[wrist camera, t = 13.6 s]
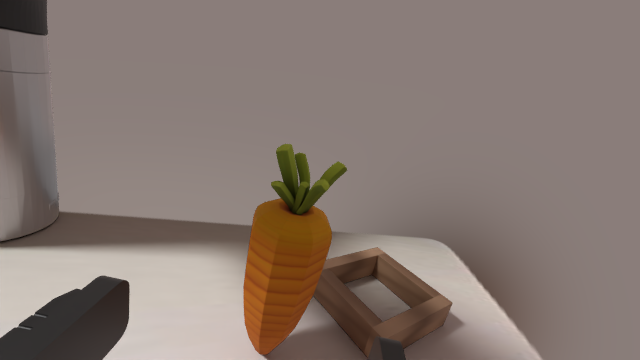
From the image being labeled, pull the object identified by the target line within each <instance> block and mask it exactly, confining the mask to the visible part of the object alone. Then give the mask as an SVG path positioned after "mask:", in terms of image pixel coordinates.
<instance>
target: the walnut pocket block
mask: <svg viewBox="0 0 640 360" xmlns="http://www.w3.org/2000/svg"><path fill="white" fill-rule="evenodd" d="M369 275H373V276H374V277H376V278H377V279H378V280H379V281H380V282H382V283H383V284H384V285H385V286H386V287H387V288H389V289H390V290H391V291H392V292H393V293H395V294H396V295H397V296H398V297H399V298H400V299H402V300H403V301H404V302H405V303H406V304H407V305H409V306H410V307H411V309H409V310H407V311H405V312H403V313H401V314H399V315H397V316H395V317H393V318H391V319H389V320H386V321H384V322H382V321H381V320H380V319H379V318H378V317H377V316H376V315H375V314H374V313H373V312H372V311H371V310H370V309H369V308H368V307H367V306H366V305H365V304H364V303H363V302H362V301H361V300H360V299H359V298H358V297H357V296H356V295H355V294H354V293H353V292H352V291H351V290H349V289H348V288H347V287H346V286H345V285H344V283H347V282H350V281H353V280H356V279H359V278H362V277H365V276H369ZM313 295H314V296H315V297H316V299H317V300H318V301H319V302H320V303H321V304H322V306H323V307H324V308H325V309H326V310H327V311H328V312H329V314H330V315H331V316H332V317H333V318H334V319H335V321H336V322H337V323H338V324H339V325H340V326H341V327H342V329H343V330H344V331H345V332H346V333H347V334H348V336H349V337H350V338H351V339H352V340H353V341H354V342H355V344H356V345H357V346H358V347H359V348H360V349H361V351H362V352H363V353H364V354H365V355H366V356H367V357H368V356H369V353H370V350H371V347H372V344H373V341H374V339H375V337H376V336H379V337H383V338H388V339H392V340H397V341H400V342H401V344H402V346H403V349H404V348H405V347H407V346H409V345H410V344H412V343H414V342H415V341H417V340H419V339H420V338H422V337H424V336H425V335H427V334H429V333H430V332H432V331H433V330H435V329H437V328H438V327H440V326H442V325H443V324H444V322H445V319H446V317H447V315H448V312H449V310H450V308H451V305H452V302H451V301H449V300H448V299H447V298H445V297H444V296H443V295H441V294H440V293H439V292H437V291H436V290H435V289H433V288H432V287H430V286H429V285H428V284H426V283H425V282H424V281H422V280H421V279H420V278H418V277H417V276H416V275H414V274H413V273H412V272H410V271H409V270H407V269H406V268H405V267H403V266H402V265H401V264H399V263H398V262H397V261H395V260H394V259H393V258H391V257H390V256H389V255H387V254H386V253H384V252H383V251H382V250H380V249H379V248H378V247H377V248H373V249H369V250H364V251H360V252H356V253H352V254H348V255H344V256H340V257H336V258H331V259H327V260H325V263H324V266H323V269H322V272H321V275H320V278H319V280H318V283H317V286H316V289H315V292H314V294H313Z"/></svg>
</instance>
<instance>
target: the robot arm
mask: <svg viewBox="0 0 640 360" xmlns="http://www.w3.org/2000/svg"><path fill="white" fill-rule="evenodd" d="M47 34H48V30H47V0H0V241H5V240H9V239H13V238H18V237H22V236H25V235H28V234H31V233H34V232H36V231H38V230H41V229H43V228H45V227H47V226H48V225H50V224H51V223H53V222H54V221H55V220H56V219H57V217H58V215H59V203H58V200H59V195H58V188H57V170H56V154H55V140H54V139H55V138H54V123H53V107H52V91H51V77H50V60H49V44H48V36H46V35H47ZM128 320H129V283H128V281H126V280H121V279H117V278H112V277H107V276H99V277H97V278H96V279H95V280H93V281H92V282H91V283H90V284H88V285H87V286H86V287H84V288H83V289H82V290H80V289H75V290H72V291H70V292H68V293H66V294H63V295H61V296H59V297H57V298H55V299H53V300H52V301H50V302H49V303H47V304H46V305H45V306H43V307H42V308H41V309H39V310H38V311H37V312H35V314H34V315H33V316H32V315H31V316H30V317H28V318H27V319H26V320H24V321H23V322H22V323H20V324H19V326H18V327H17V328H13V329H12V330H11V331H9V332H8V333H7V334H5V335H4V336H3V337H1V338H0V360H102V359H103V358H104V357H105V356H106V355H107V354H108V352H109V351H110V350H111V349H112V348H113V347H114V346H115V344H116V343H117V342H118V341H119V340H120V338H121V337H122V335H123V334H124V332H125V330H126V327H127V324H128ZM367 360H406V358H405V354H404V350H403V346H402V344H401V342H400V341H397V340H392V339H388V338H383V337H379V336H376V337H375V339H374V341H373V344H372V347H371V350H370V353H369V356H368V359H367Z"/></svg>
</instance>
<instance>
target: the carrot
mask: <svg viewBox="0 0 640 360" xmlns="http://www.w3.org/2000/svg"><path fill="white" fill-rule="evenodd" d="M276 154H277V159H278V163H279V167H280V171H281V174H282V178H283V181H284V183H283V182H281V181H274V182H272V183H271V186H272V187H273V189H274V190H275V191H276V192H277V194H278V195H279V196H280V197H281V198H280V199H276V200H272V201H268V202H265V203H263V204H261V205H259V206H258V207H257V209H256V211H255V214H254V217H253V224H252V230H251V236H250V243H249V250H248V257H247V264H246V272H245V280H244V317H245V326H246V329H247V332H248V336H249V339H250V340H251V342H252V344H253V346H254V348H255V350H256V351H257V352H258V353H259V354H264V355H267V354H268V353H269V352H271V351H272V350H273V349H274V348H275V347H277V346H278V345H279V344H280V343H281V342H282V341H284V340H285V339H286V337H287V336H288V335H289V334H290V333H291V332H292V331H293V329H294V328H295V327H296V325H297V324H298V322H299V320H300V318H301V317H302V315H303V313H304V312H305V310H306V308H307V306H308V304H309V302H310V300H311V298H312V296H313V294H314V292H315V289H316V286H317V283H318V280H319V278H320V275H321V272H322V269H323V266H324V263H325V260H326V257H327V254H328V250H329V247H330V244H331V239H332V231H331V228H330V225H329V222H328V219H327V217H326V215H325V214H324V212H323V211H321V210H320V209H318V208H316V207H315V206H313V205H314V204H315V203H316V201H317V200H318V199H319V198H320V197H321V196H322V195H323V194H324V193H325V192H326V191H327V190H328V189H329V187H330V186H331V185H332V184H333V183H334V182H335V181H336V180H337V179H338V178H339V177H340V176H341V175H343V174H344V173H345V172H346V171H347V168H346V167H345V165H344V164H342V163H340V162H337V163H335V164H334V165H332V166H331V167H330V168H329V169H328V170H327V171H326V172H325V173H324V174H323V176H322V177H321V178H320V180H318V181H317V182H316V183H315V184H314V185H313V187H312V188H311V189H310V191H309V188H310V173H309V166H308V162H307V159H306V155H305V154H303V153H297V154H295V156H294V152H293V148H292V145H291V144H284V145H282V146H280V147H278V148H277V151H276ZM295 160H296V162H295ZM296 165H297V168H296ZM297 169H298V173H299V179H300V186H299V187H298V175H297Z"/></svg>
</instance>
